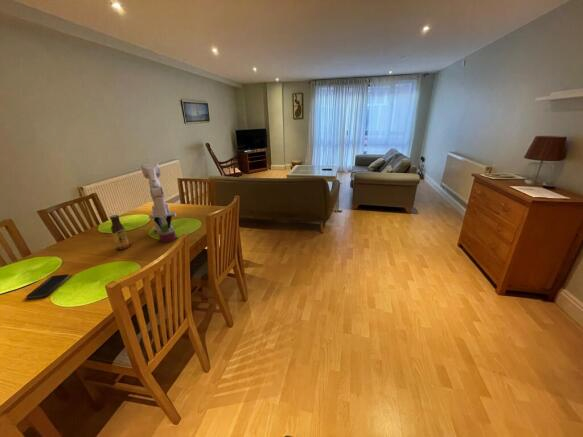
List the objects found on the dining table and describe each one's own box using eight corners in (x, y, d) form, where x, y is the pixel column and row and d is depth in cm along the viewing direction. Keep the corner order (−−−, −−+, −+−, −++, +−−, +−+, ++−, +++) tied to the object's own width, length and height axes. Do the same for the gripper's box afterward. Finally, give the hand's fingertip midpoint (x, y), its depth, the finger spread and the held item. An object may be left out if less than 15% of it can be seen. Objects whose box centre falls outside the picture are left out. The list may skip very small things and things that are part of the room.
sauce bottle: (123, 250, 137) (112, 218, 129) (114, 249, 138) (103, 218, 130) (132, 245, 143) (123, 214, 135) (123, 244, 144) (113, 213, 136)
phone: (24, 297, 100) (51, 275, 113) (25, 299, 100) (52, 277, 114) (45, 295, 101) (70, 274, 114) (46, 297, 101) (71, 276, 115)
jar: (156, 241, 146) (153, 232, 144) (167, 234, 155) (165, 226, 153) (168, 243, 144) (166, 234, 141) (180, 236, 152) (178, 227, 150)
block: (161, 232, 145) (160, 226, 143) (163, 229, 148) (162, 223, 147) (168, 231, 146) (167, 225, 144) (170, 228, 149) (169, 222, 148)
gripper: (144, 210, 136) (150, 232, 141) (172, 208, 139) (176, 229, 144) (148, 206, 143) (154, 227, 148) (174, 204, 145) (179, 225, 151)
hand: (165, 228), depth 146 cm, fingers closed on block, 4 cm apart
